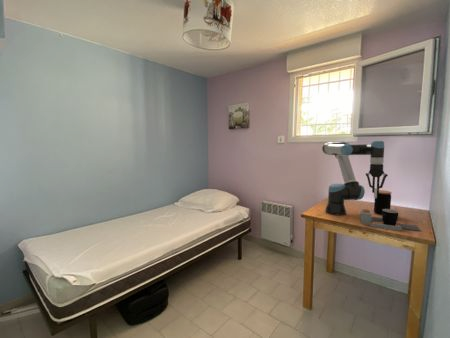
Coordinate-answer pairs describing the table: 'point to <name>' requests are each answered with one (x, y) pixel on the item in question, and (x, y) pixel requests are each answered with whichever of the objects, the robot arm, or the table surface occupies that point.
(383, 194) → the coffee jar
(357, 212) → the table surface
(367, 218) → the housing
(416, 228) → the pad
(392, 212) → the mug
